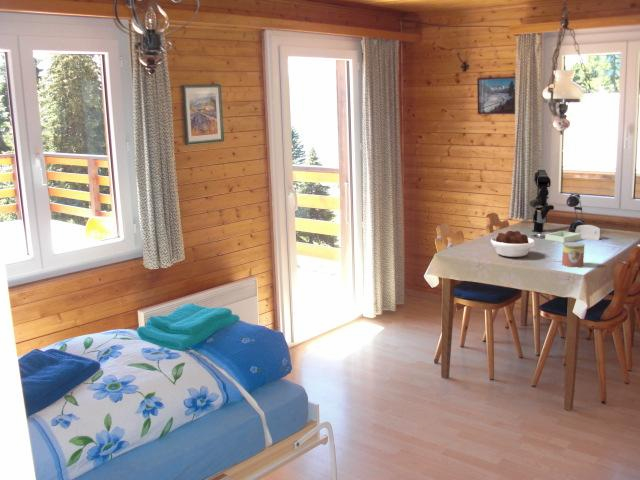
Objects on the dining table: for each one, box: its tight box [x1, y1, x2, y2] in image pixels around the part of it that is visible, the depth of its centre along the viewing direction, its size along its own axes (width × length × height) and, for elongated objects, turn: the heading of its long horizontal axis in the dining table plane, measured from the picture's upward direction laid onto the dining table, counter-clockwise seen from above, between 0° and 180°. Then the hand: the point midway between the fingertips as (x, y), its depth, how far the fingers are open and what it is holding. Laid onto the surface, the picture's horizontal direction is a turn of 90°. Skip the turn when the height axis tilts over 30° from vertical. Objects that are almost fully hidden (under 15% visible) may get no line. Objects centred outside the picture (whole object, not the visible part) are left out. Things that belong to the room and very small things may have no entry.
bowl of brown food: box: [490, 230, 536, 258], centre depth 426 cm, size 25×25×15 cm
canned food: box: [561, 241, 585, 268], centre depth 402 cm, size 11×11×12 cm
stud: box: [530, 232, 546, 239], centre depth 480 cm, size 9×9×2 cm
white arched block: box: [574, 224, 602, 241], centre depth 473 cm, size 17×5×10 cm, turn 56°
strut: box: [537, 210, 547, 224], centre depth 478 cm, size 4×4×8 cm
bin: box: [544, 230, 582, 244], centre depth 469 cm, size 18×14×4 cm
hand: (541, 218), depth 478 cm, fingers closed on strut, 4 cm apart
